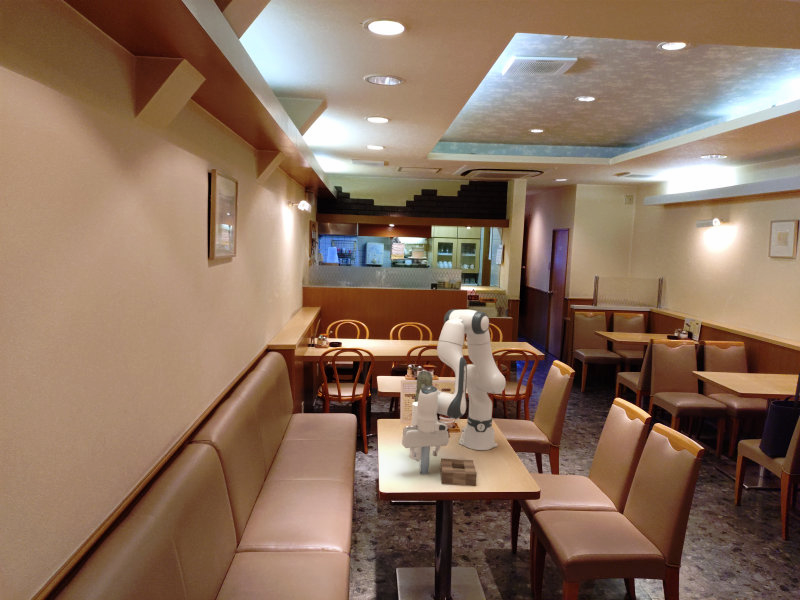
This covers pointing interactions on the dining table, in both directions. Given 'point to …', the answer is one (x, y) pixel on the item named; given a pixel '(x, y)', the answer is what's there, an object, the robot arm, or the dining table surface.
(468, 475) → the socket block
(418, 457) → the cylindrical container
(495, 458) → the dining table surface
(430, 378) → the thermos
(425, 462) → the peg
